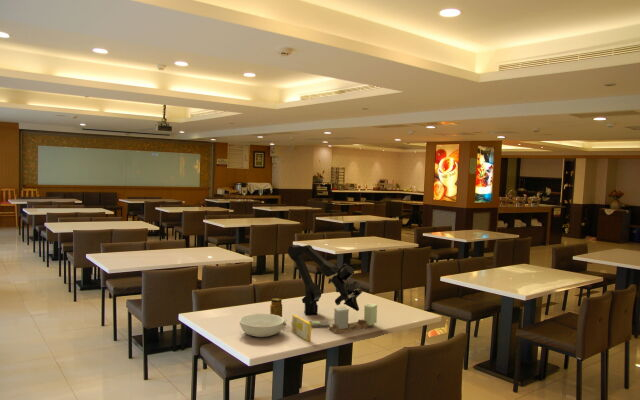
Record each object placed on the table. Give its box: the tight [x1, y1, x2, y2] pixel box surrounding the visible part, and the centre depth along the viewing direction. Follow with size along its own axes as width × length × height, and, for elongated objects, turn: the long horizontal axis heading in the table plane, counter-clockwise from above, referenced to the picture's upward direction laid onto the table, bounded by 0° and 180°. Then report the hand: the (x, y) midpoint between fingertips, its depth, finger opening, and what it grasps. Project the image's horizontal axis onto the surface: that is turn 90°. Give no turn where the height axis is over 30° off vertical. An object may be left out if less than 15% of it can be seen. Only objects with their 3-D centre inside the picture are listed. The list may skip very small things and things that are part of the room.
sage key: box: [363, 302, 378, 326], centre depth 243 cm, size 4×6×9 cm
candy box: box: [291, 314, 312, 342], centre depth 228 cm, size 16×2×8 cm, turn 30°
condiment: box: [269, 297, 287, 325], centre depth 248 cm, size 7×8×12 cm
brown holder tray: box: [328, 318, 372, 334], centre depth 241 cm, size 25×9×4 cm, turn 127°
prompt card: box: [308, 320, 331, 329], centre depth 244 cm, size 10×7×2 cm
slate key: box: [333, 306, 350, 329], centre depth 235 cm, size 4×6×9 cm
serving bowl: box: [239, 313, 285, 338], centre depth 229 cm, size 21×21×7 cm
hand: (358, 310), depth 247 cm, fingers closed
